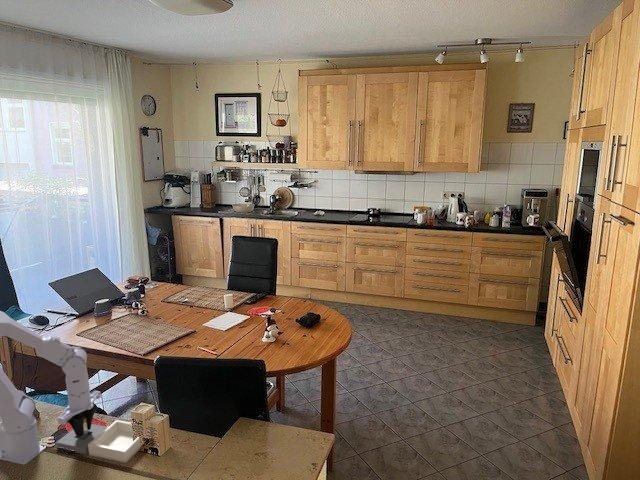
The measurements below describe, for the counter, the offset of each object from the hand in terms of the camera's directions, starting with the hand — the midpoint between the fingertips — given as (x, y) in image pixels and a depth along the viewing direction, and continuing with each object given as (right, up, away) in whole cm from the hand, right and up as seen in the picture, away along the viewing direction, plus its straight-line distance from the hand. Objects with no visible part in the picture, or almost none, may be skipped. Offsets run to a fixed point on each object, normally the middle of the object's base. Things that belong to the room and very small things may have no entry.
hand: (83, 432), depth 137 cm
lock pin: (0, -3, +1) cm, 3 cm away
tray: (+12, -3, -1) cm, 12 cm away
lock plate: (0, -3, +1) cm, 3 cm away
